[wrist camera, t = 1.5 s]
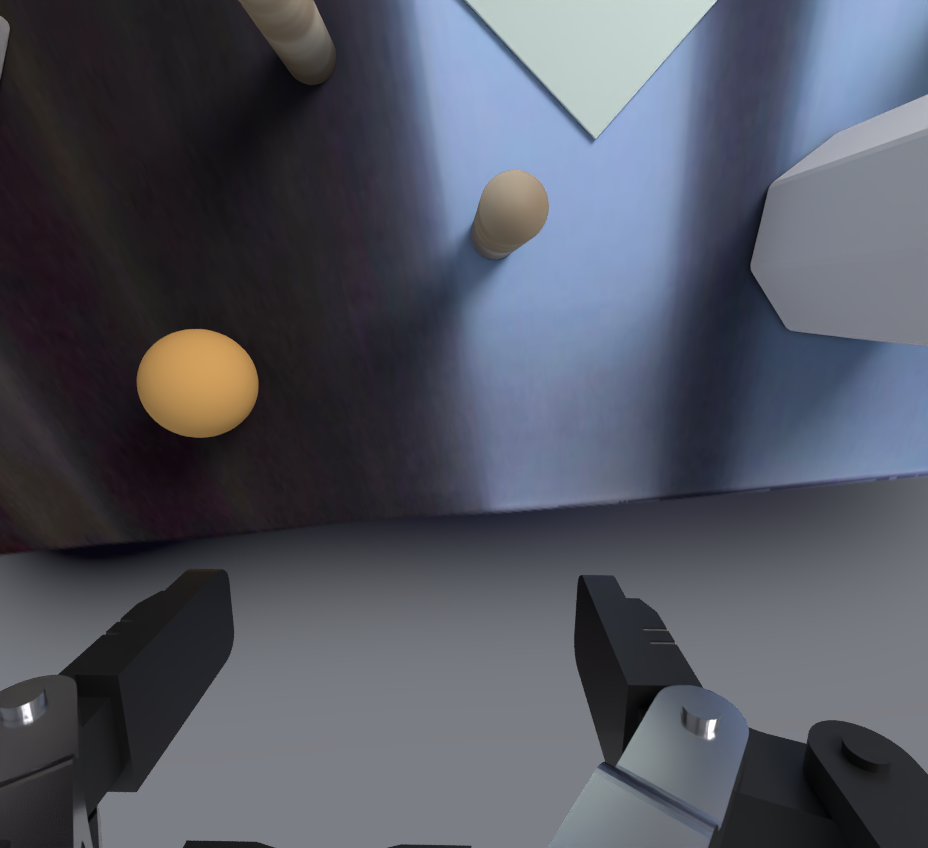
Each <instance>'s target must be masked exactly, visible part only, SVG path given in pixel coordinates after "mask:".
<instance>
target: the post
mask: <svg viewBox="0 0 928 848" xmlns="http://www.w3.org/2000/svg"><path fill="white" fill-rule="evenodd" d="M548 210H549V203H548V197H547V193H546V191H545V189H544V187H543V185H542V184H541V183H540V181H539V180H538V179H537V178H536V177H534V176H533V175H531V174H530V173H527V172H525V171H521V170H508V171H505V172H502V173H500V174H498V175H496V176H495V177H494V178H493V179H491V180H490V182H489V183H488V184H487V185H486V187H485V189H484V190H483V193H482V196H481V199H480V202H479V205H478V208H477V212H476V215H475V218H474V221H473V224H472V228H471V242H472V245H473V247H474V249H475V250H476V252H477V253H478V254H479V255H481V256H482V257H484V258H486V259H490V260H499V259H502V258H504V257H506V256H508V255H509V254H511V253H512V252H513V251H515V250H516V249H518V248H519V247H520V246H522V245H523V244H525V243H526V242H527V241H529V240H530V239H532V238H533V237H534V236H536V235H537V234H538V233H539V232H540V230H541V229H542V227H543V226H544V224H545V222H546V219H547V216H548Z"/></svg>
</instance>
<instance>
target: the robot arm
mask: <svg viewBox="0 0 928 848" xmlns="http://www.w3.org/2000/svg"><path fill="white" fill-rule="evenodd" d="M233 640H234V625H233V615H232V605H231V595H230V584H229V577H228V574H227V572H226V571H225V570H223V569H189V570H187V571H186V572H184V573H183V574H182V575H181V576H180V577H179V578H178V579H177V580H176V581H175V582H174V583H173V584H171V585H170V586H169V587H168V588H167V589H166V590H165V591H160V592H158V593H157V594H155V595H153V596H151V597H149V598H147V599H145V600H144V601H142V602H140V603H138V604H137V605H136V606H134V607H133V608H132V609H131V610H130V611H129V612H128V613H127V614H125V615H124V616H123V617H122V618H121V621H120V622H117V623H116V624H114V625H113V626H112V627H111V628H110V629H109V630H108V631H106V635H102V636H101V637H100V638H99V639H97V640H96V641H95V642H94V643H93V644H92V645H91V646H90V647H89V648H87V649H86V650H85V651H84V652H83V653H82V654H81V655H80V656H79V657H78V658H76V659H75V660H74V661H73V662H72V663H71V664H69V666H67V667H66V668H65V669H64V670H63V671H62V672H61V673H59V674H58V675H48V676H42V677H37V678H33V679H29V680H26V681H23V682H20V683H17V684H15V685H13V686H10V687H8V688H6V689H4V690H2V691H0V848H102V836H101V821H100V814H99V808H98V804H99V802H100V801H101V799H102V798H103V797H104V795H105V794H106V793H107V792H137V791H138V789H139V788H140V786H141V785H142V783H143V782H144V780H145V779H146V778H147V776H148V775H149V773H150V772H151V770H152V769H153V767H154V766H155V765H156V763H157V762H158V760H159V759H160V757H161V756H162V754H163V753H164V751H165V750H166V749H167V747H168V746H169V744H170V743H171V741H172V740H173V738H174V737H175V735H176V734H177V733H178V731H179V730H180V728H181V727H182V725H183V724H184V722H185V721H186V719H187V718H188V716H189V715H190V714H191V712H192V711H193V709H194V708H195V706H196V705H197V703H198V702H199V701H200V699H201V698H202V696H203V695H204V693H205V692H206V690H207V689H208V687H209V686H210V685H211V683H212V682H213V680H214V678H215V677H216V675H217V674H218V673H219V671H220V670H221V668H222V667H223V666H224V664H225V663H226V661H227V659H228V657H229V655H230V653H231V650H232V646H233ZM574 644H575V645H574V648H575V658H576V664H577V668H578V672H579V675H580V678H581V682H582V685H583V688H584V692H585V695H586V698H587V702H588V705H589V708H590V712H591V715H592V719H593V722H594V725H595V729H596V732H597V735H598V739H599V742H600V745H601V749H602V752H603V755H604V759H605V762H603V763H601V764H600V765H599V766H598V767H597V769H596V770H595V772H594V773H593V775H592V776H591V778H590V780H589V781H588V783H587V785H586V786H585V788H584V789H583V791H582V793H581V794H580V796H579V798H578V799H577V801H576V803H575V804H574V806H573V807H572V809H571V811H570V812H569V814H568V815H567V817H566V819H565V821H564V822H563V824H562V825H561V827H560V829H559V830H558V832H557V833H556V835H555V837H554V838H553V840H552V841H551V843H550V845H549V846H548V848H928V774H927V773H926V772H925V771H924V770H923V769H922V768H921V767H920V765H919V764H918V763H917V762H916V761H915V760H914V759H913V758H912V757H911V756H910V755H909V754H908V753H907V752H905V751H904V750H903V749H902V748H901V747H899V746H898V745H896V744H895V743H893V742H892V741H890V740H889V739H887V738H885V737H884V736H882V735H880V734H878V733H876V732H874V731H872V730H869V729H867V728H865V727H862V726H859V725H856V724H852V723H848V722H844V721H836V720H829V721H828V720H827V721H821V722H819V723H816V724H815V725H813V726H812V727H811V729H810V730H809V734H808V739H807V744H805V743H801V742H797V741H793V740H789V739H785V738H781V737H778V736H773V735H769V734H766V733H763V732H759V731H757V730H754V729H752V728H749V727H748V724H747V722H746V719H745V718H744V716H743V715H742V713H741V712H740V711H739V710H738V709H737V708H736V707H735V706H734V705H733V704H732V703H730V702H729V701H728V700H726V699H725V698H723V697H722V696H720V695H718V694H716V693H714V692H712V691H710V690H707V689H704V688H703V687H702V685H701V683H700V682H699V680H698V679H697V677H696V675H695V674H694V672H693V671H692V669H691V667H690V666H689V664H688V662H687V661H686V659H685V657H684V656H683V654H682V653H681V651H680V649H679V648H678V646H677V645H675V641H674V640H673V638H672V636H671V635H670V633H669V631H667V629H666V627H665V625H664V623H663V621H662V620H661V618H660V617H659V615H658V614H657V612H656V611H655V610H653V609H652V608H651V607H649V606H648V605H647V604H645V603H644V602H643V601H642V600H640V599H636V598H634V599H633V598H626V597H625V595H624V593H623V592H622V590H621V588H620V586H619V584H618V582H617V580H616V579H615V577H614V576H604V575H600V576H599V575H581V576H579V579H578V586H577V602H576V618H575V634H574ZM183 848H274V847H271V846H268V845H265V844H262V843H258V842H236V841H186V843H185V845H184V847H183ZM389 848H471V846H455V845H452V846H451V845H449V846H448V845H397V846H393V847H389Z"/></svg>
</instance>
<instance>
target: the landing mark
mask: <svg viewBox="0 0 928 848" xmlns="http://www.w3.org/2000/svg"><path fill="white" fill-rule="evenodd" d="M464 1H465V2H466V3H467V4H468V5H469V6H470V7H471V8H472V9H473V10H474V11H475V12H476V13H477V15H478V16H479V17H480V18H481V19H482V20H483V21H484V22H485V23H486V24H487V25H488V26H489V27H490V28H491V29H492V31H493V32H494V33H495V34H496V35H497V36H498V37H499V38H500V39H501V40H502V41H503V42H504V43H505V44H506V46H507V47H508V48H509V49H510V50H511V51H512V52H513V53H514V54H515V55H516V56H517V57H518V58H519V59H520V60H521V62H522V63H523V64H524V65H525V66H526V67H527V68H528V69H529V70H530V71H531V72H532V73H533V74H534V75H535V76H536V78H537V79H538V80H539V81H540V82H541V83H542V84H543V85H544V86H545V87H546V88H547V89H548V90H549V91H550V92H551V94H552V95H553V96H554V97H555V98H556V99H557V100H558V101H559V102H560V103H561V104H562V105H563V106H564V107H565V109H566V110H567V111H568V112H569V113H570V114H571V115H572V116H573V117H574V118H575V119H576V120H577V121H578V122H579V123H580V125H581V126H582V127H583V128H584V129H585V130H586V131H587V132H588V133H589V134H590V135H591V136H592V137H593V138H594V139H596V138H597V137H598V136H599V135H600V134H601V132H602V131H603V130H604V129H605V128H606V127H607V126H608V124H609V123H610V122H611V121H612V120H613V119H614V118H615V116H616V115H617V114H618V113H619V112H620V111H621V110H622V108H623V107H624V106H625V105H626V104H627V103H628V102H629V100H630V99H631V98H632V97H633V96H634V95H635V94H636V92H637V91H638V90H639V89H640V88H641V87H642V86H643V84H644V83H645V82H646V81H647V80H648V79H649V78H650V76H651V75H652V74H653V73H654V72H655V71H656V70H657V68H658V67H659V66H660V65H661V64H662V63H663V62H664V60H665V59H666V58H667V57H668V56H669V55H670V54H671V52H672V51H673V50H674V49H675V48H676V47H677V46H678V44H679V43H680V42H681V41H682V40H683V39H684V38H685V36H686V35H687V34H688V33H689V32H690V31H691V30H692V28H693V27H694V26H695V25H696V24H697V23H698V22H699V20H700V19H701V18H702V17H703V16H704V15H705V14H706V12H707V11H708V10H709V9H710V8H711V7H712V6H713V4H714V3H715V2H716V1H717V0H464Z"/></svg>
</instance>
